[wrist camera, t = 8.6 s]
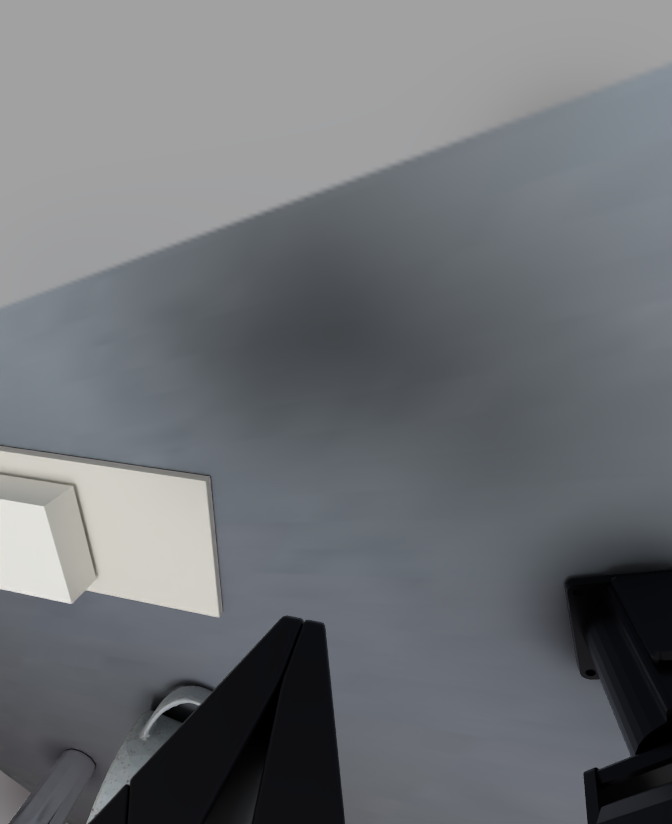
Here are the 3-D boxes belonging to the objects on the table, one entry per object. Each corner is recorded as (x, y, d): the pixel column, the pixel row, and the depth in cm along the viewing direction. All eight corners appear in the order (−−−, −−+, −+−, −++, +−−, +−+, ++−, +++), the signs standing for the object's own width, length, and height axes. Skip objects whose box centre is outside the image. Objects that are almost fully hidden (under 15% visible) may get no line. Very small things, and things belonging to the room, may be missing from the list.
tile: (44, 506, 22) (-94, 482, 23) (71, 604, 24) (-53, 577, 26) (76, 483, 24) (-52, 463, 25) (99, 576, 26) (-19, 552, 28)
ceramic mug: (237, 779, 34) (188, 919, 27) (145, 743, 34) (74, 870, 27) (259, 701, 29) (209, 843, 22) (154, 661, 30) (74, 787, 23)
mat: (210, 476, 22) (205, 481, 22) (223, 611, 26) (219, 617, 26) (-89, 432, 26) (-98, 436, 25) (-38, 558, 29) (-46, 563, 29)
